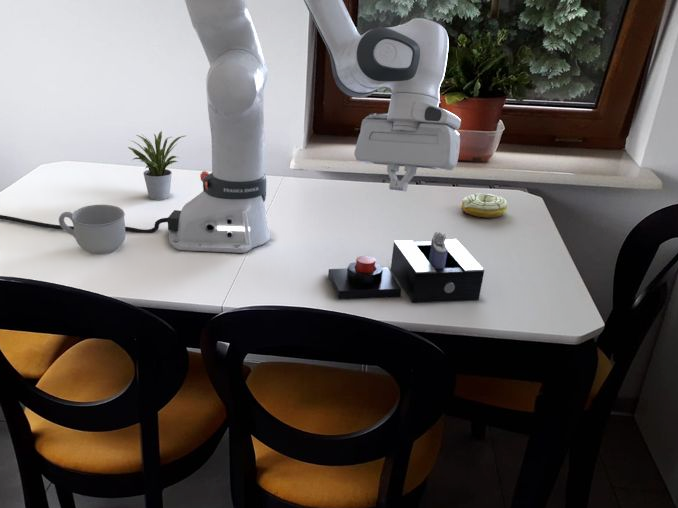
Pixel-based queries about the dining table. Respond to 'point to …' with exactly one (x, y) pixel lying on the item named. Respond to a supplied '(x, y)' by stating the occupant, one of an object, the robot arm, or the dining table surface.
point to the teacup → (96, 227)
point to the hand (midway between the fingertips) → (397, 190)
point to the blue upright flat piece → (438, 251)
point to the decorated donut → (484, 205)
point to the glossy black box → (436, 272)
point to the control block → (364, 283)
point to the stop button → (365, 264)
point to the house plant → (157, 167)
